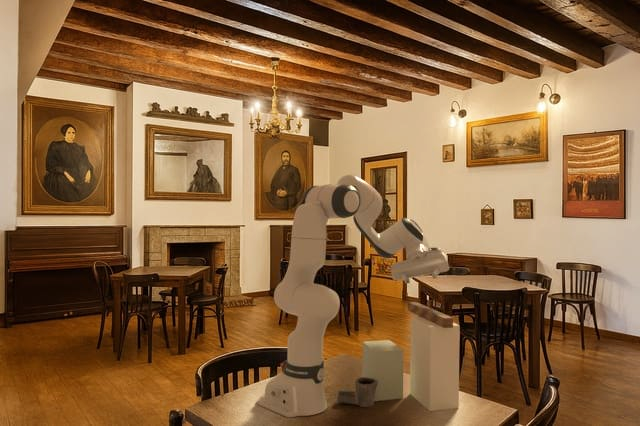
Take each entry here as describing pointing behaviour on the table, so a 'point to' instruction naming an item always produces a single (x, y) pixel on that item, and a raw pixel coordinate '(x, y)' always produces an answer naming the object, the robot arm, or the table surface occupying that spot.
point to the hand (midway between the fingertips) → (420, 279)
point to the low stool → (384, 368)
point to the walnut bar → (431, 314)
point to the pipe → (360, 393)
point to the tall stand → (434, 364)
